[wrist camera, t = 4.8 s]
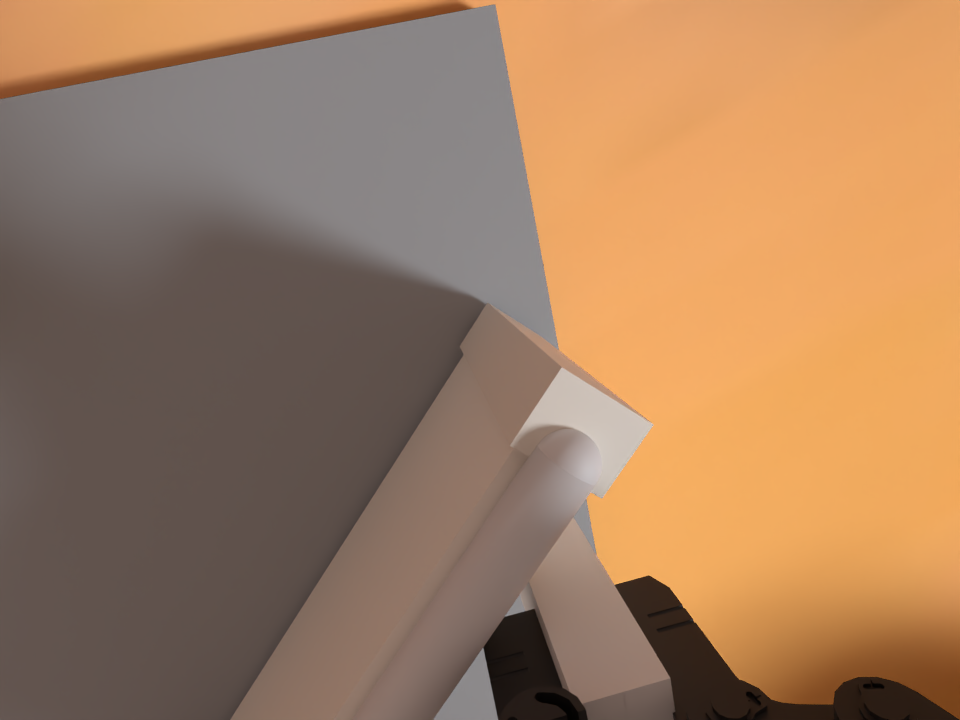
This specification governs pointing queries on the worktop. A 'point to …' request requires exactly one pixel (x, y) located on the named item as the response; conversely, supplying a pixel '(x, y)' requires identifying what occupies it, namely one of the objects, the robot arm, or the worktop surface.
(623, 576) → the worktop surface
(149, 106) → the board
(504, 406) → the rod
